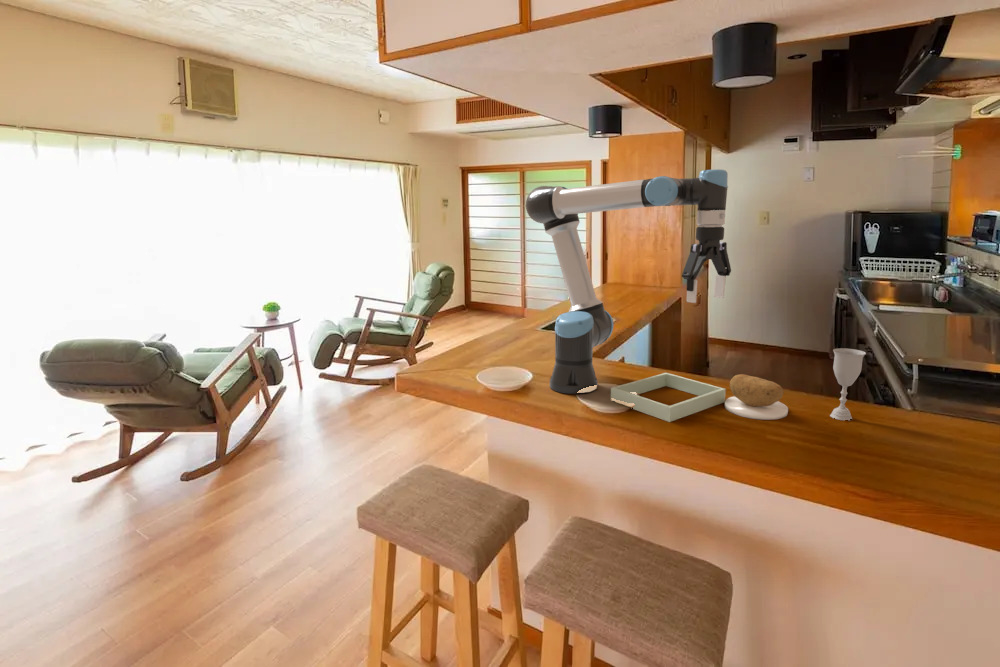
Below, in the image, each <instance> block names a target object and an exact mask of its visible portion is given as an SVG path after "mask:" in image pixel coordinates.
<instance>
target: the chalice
mask: <svg viewBox="0 0 1000 667" xmlns="http://www.w3.org/2000/svg"><path fill="white" fill-rule="evenodd" d="M832 351H833V353H834V354H833V355H834V358H833V366H832V369H833V374H834V376H835V379H836V380H837V383H838V384H839V385H840V386H842V389H841V391H840V394H841V397H840V398H839V399H838V400H839V401H840V404H839V406H837V407H835V408H833V410H832V411H831V413H830V414H829V417H831V418H832V419H834V418H835V420H839V421H845V420H848V421H851V420H850V419H852V420H853V417H852V415H851V411H850V410H849V408H848V407H846V402H847V401H848V399H847V398H846V397H847V395H848V392H847V390H848V387H850V386H851V387H852V385H853V384H854V383H855V381H857V379H858V377H859V376H860V374H861V372H862V367H863V359H864V357H865V355H866V354H867V353H866V352H865V351H864V350H859V349H855V348H854V349H853V348H846V347H845V348H842V347H840V348H834V349H832Z"/></svg>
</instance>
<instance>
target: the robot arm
mask: <svg viewBox="0 0 1000 667" xmlns="http://www.w3.org/2000/svg"><path fill="white" fill-rule="evenodd" d="M728 188H729V186H728V172H727V170H725V169H720V168H719V169H705V170H700V171H699V176H698V177H694V178H676V177H675V178H674V177H670V176H666V175H662V176H656V177H653V178H646V179H637V180H628V181H621V182H613V183H612V182H611V183H604V184H597V185H596V184H595V185H594V184H593V185H586V186H579V187H570V188H568V187H565V186H558V185H556V186H551V185H549V186H548V185H541V186H537V187H535V188H533V189H532V190H531V191H530V192H529V193H528V195H527V197H526V200H525V210H526V213H527V215H528V216H529V217H530V219H531V220H533V221H534V222H536V223H538V224H543V228H544V231H545V233H546V234H547V235H548V236H551V239H552V243H553V245H554V250H555V251H556V252H555V253H556V256H557V259H558V263H559V267H560V270H561V274H562V276H563V280H564V283H565V288H566V291H567V295H568V299H569V301H570V307H569V309H568V312H563V313H561V314H559V315H557V317H556V319H555V326H554V333H555V334H554V335H555V336H554V338H555V342H554V346H555V347H554V348H555V349H554V353H555V354H554V355H555V357H554V358H555V359H554V361H555V363H554V366H553V370H552V374H551V376H550V378H549V388H550V389H551V390H552V391H555V392H557V393H562V394H568V395H577V394H576V393H577V392H578V391H579V390H581V389H583V388H586V387H589V386H594V385H597V386H598V381H599V380H598V378H597V376H596V372H595V368H594V365H593V353H594V352H593V351H594V350H593V349H594V348H595V347H596V346H598V345H603V343H605V342H606V341H607V340H609V338H610V337H611V335H612V333H613V330H614V320H613V317H612V315H611V314H610V313H609V312H608V311H607V310H605V307H604V304H603V303H604V302H603V301H601V300H600V299H599V298H598V297H597V295H596V293H595V292H596V291H595V288H594V284H593V282H592V278H591V274H590V270H589V267H588V264H587V260H586V256H585V253H584V250H583V245H582V242H581V239H580V235H579V232H578V226H579V224H581V222H580V218H579V214H586V213H599V212H609V211H618V210H629V209H639V208H650V207H652V208H653V207H662V206H663V207H671V206H697V210H696V211H697V213H696V225H697V228H695V239H696V240H697V241H698V243H693V244H692V243H691V245H690V251H689V253H688V254H689V255H688V257H687V260H686V263H685V266H684V269H683V270H682V274H681V277H682V278H683V279H684V280H686V302H687V303H691V304H696V303H697V292H698V279H697V277H698V275H699V273H700V271H701V269H702V267H703V266H704V264H705V262H707V261H708V260H711V262H712V265H713V266H714V268H715V271H716V273H717V274H716V275H715V285H714V298H721V299H724V298H725V289H726V278H727V277H728V276H730V275H731V272H732V269H731V264H730V259H729V255H728V248H727V247H728V246H727V245H728V243H727V242H726V241H725V242H723V240H724V238H725V237H724V236H725V227H724V225H725V219H726V209H727V208H726V207H727V197H728V196H727V195H728Z"/></svg>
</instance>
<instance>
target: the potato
mask: <svg viewBox="0 0 1000 667" xmlns="http://www.w3.org/2000/svg"><path fill="white" fill-rule="evenodd" d="M729 389H730V391H731V392H732V395H733V397H734V396H735V397H736V398H738V399H739V400H740V401H742V402H743V403H745V404H747V405H750V406H769V405H772V404H774V403H775V402H777V401H779V402H780V401H781V399H782V397H783V396H784V389H783V387H782V386H781V385H780V384H778V383H776V382H774V381H771V380H767V379H765V378H761V377H758V376H751V375H748V374H744V373H743V374H742V373H741V374H736V375H734V376H733V377H732V378H731V379H730V381H729Z"/></svg>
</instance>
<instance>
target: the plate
mask: <svg viewBox="0 0 1000 667" xmlns="http://www.w3.org/2000/svg"><path fill="white" fill-rule="evenodd" d="M724 408H725V410H727V411H728V412H729V413H731V414H734V415H737V416H739V417H743V418H747V419H751V420H752V419H753V420H761V421H762V420H763V421H764V420H765V421H767V420H768V421H771V420H779V419H784V418H786V417H787V416H788V414H789V413H788V412H789V407H788V406H787V405H786V404H785V403H783V402H781V401H780V400H779V401H777V402H775V403H774V404H772V405H769V406H750V405H747V404H745V403H743V402H742V401H740V400H739V399H738V398H736V397H735V396H734V395H733V396H730V397H728V398H725V402H724Z"/></svg>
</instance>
